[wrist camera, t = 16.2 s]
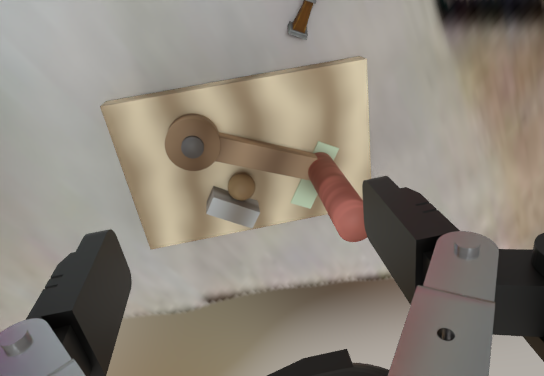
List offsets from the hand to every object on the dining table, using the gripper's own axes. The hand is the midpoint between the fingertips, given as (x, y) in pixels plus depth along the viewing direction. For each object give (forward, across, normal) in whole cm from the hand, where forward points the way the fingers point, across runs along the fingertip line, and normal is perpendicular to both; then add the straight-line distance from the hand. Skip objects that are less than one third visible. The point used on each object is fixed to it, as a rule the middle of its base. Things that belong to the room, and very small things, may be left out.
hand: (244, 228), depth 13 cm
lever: (+26, -1, +7) cm, 27 cm away
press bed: (+28, -1, +8) cm, 29 cm away
